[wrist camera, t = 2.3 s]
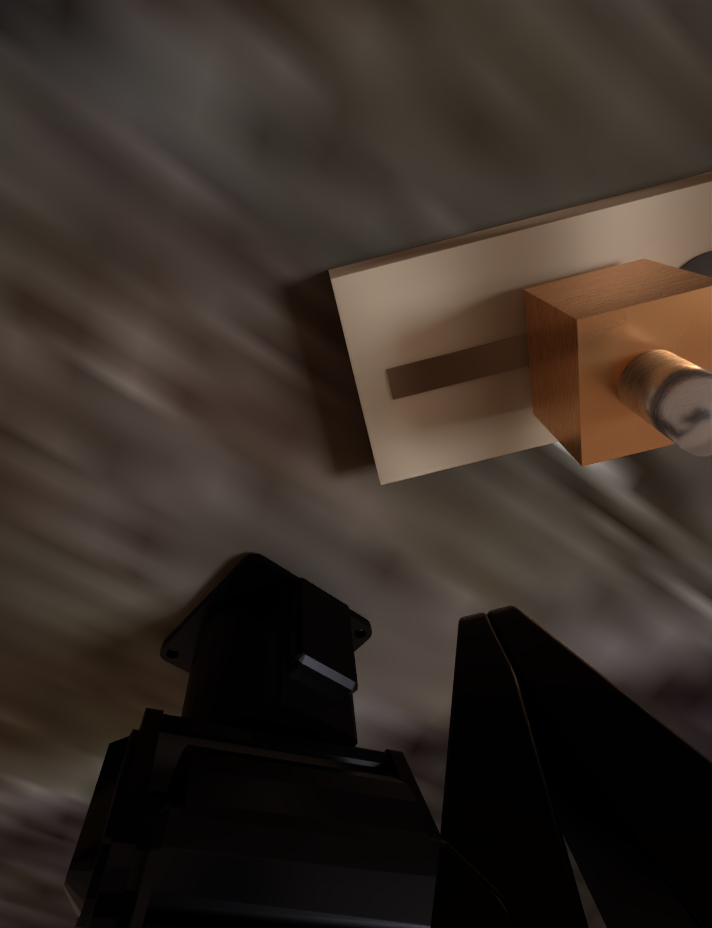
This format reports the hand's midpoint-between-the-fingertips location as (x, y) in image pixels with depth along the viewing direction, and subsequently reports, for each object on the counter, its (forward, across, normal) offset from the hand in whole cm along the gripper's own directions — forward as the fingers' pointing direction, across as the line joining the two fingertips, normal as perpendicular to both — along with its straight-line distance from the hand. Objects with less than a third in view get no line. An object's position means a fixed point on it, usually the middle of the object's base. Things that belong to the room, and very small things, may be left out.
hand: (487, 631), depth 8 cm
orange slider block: (+10, -6, 0) cm, 12 cm away
